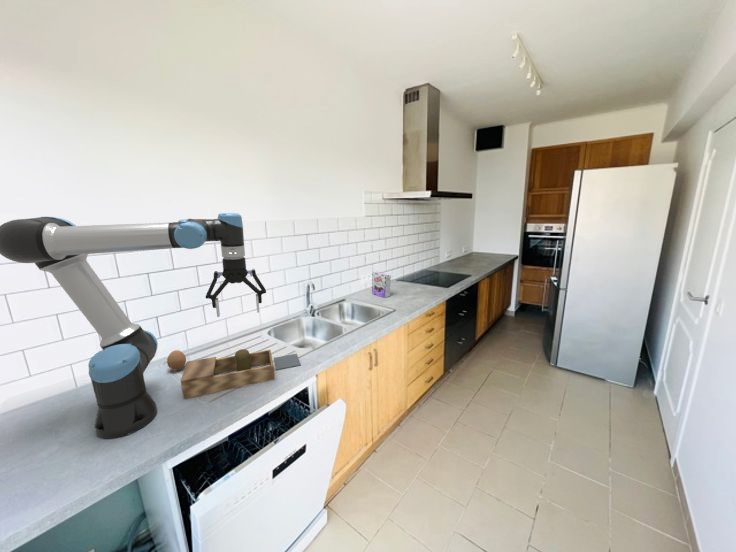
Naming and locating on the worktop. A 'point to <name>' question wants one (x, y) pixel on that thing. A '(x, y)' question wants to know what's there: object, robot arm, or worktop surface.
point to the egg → (176, 360)
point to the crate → (203, 381)
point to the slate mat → (286, 361)
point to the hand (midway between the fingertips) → (238, 313)
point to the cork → (242, 360)
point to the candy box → (381, 284)
